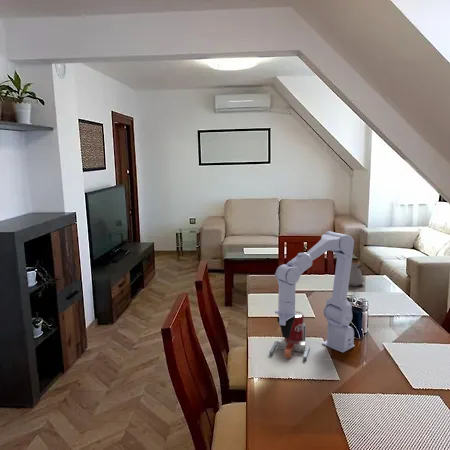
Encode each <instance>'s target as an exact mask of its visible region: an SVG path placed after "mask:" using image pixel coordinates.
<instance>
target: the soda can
mask: <svg viewBox="0 0 450 450" xmlns="http://www.w3.org/2000/svg"><path fill="white" fill-rule="evenodd" d="M295 312H296V314H295V320H294V322H293V324H292V328H291V333H290V336H289V338H284V337H283V339H289V340H296V341H303V342H304V340H303V332H304V324H305V315H304V314H303V312H301V311H297V310H295Z"/></svg>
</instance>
